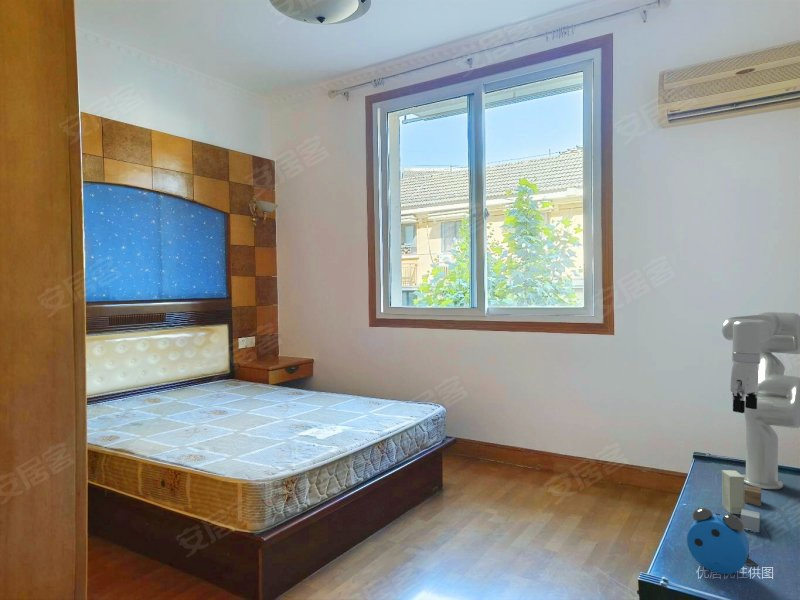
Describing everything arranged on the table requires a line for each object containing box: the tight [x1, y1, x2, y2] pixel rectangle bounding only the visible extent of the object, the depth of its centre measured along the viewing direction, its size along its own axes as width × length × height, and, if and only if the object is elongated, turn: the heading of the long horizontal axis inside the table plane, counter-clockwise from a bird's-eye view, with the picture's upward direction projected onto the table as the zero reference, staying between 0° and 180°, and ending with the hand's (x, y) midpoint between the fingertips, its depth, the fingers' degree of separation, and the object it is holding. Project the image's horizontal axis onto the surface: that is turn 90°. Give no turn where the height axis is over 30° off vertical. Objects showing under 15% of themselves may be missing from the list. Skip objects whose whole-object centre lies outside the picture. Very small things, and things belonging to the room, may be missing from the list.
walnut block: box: [744, 484, 762, 507], centre depth 170 cm, size 4×4×4 cm
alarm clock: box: [686, 507, 750, 575], centre depth 131 cm, size 13×6×15 cm, turn 49°
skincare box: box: [721, 469, 745, 515], centre depth 164 cm, size 6×4×12 cm
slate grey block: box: [740, 508, 761, 533], centre depth 152 cm, size 4×4×4 cm
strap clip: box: [744, 553, 759, 568], centre depth 136 cm, size 8×3×4 cm, turn 179°
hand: (745, 410), depth 166 cm, fingers open, 9 cm apart
